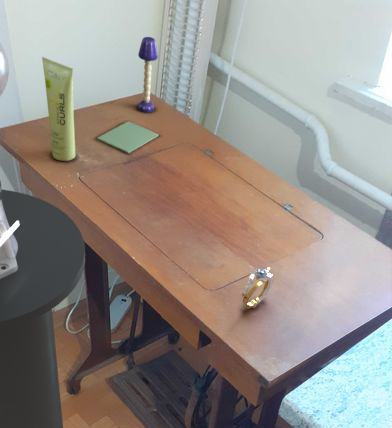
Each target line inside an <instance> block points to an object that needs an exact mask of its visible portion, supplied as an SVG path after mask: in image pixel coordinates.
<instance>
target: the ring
mask: <svg viewBox="0 0 392 428" xmlns="http://www.w3.org/2000/svg"><path fill="white" fill-rule="evenodd" d="M270 269H271V268H270V267H267V268H266V267H264V268H263V267H260V268H259V267H256V268H254V269H253V270H252V272H251V274H250V275H249V278H248V280H247V282H246V284H245V286H244V288H243V291H242V294H241V297H240V303H241V305H242V306H243V307H244V308H245V309H247V310H248V309H254V308H256V307H257V305H259V304H260V303H261V302H262V301H263V300H264V299H265V298H266V296H267V295H268V293H269V292H270V290H271V288H272V286H273V284H274V278H275V277H274V276H275V275H274V274H273V273H271V272H270ZM254 280H257V281H258V282H257V283H256V284H255V285H254V286H253V287H252V288H251V286H252V284H253V282H254ZM263 284H264V286H263V288H262V290H261V292H260V293H259V295H258V296H257V297H256V298H255V299H252V300H250V298H251V297H252V296H253V294H254V293H255V292H256V291H257V290H258V288H259V287H260V286H261V285H263ZM249 300H250V302H249Z"/></svg>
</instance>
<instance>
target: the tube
mask: <svg viewBox="0 0 392 428" xmlns="http://www.w3.org/2000/svg"><path fill="white" fill-rule="evenodd" d="M41 57H42V58H41V59H42V68H43V75H44V83H45V85H44V86H45V94H46V103H47V104H46V105H47V113H48V121H49V132H50V144H51V152H52V157H53V158H54V159H55V160H58V161H62V162H69V161H71V160H74V159H75V158H76V140H75V139H76V138H75V137H76V135H75V115H74V114H75V113H74V112H75V111H74V75H73V74H74V70H73V67H71V66H67V65H65V64H62V63H59V62H56V61H54V60H52V59H50V58H47V57H45V56H41Z"/></svg>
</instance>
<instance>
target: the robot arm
mask: <svg viewBox="0 0 392 428" xmlns="http://www.w3.org/2000/svg"><path fill="white" fill-rule="evenodd" d="M9 65H10V64H9V60H8V55H7V53H6V50H5V49H4V47H3V45H2V43H0V97H1V96H2V95H3V94H4V91H5V90H6V87H7V84H8V81H9V74H10V67H9ZM2 190H3V187H2V180H0V279H1V278H3V277H6V276H8V275H10V274H12V273H14V272H16V271H17V269H18V265H17V262H16V259H15V258H16V254H17V250H18V243H17V240H16V238H15V237H14V235H13V232H14V230H15V229H16V228H17V227H18V226H19V221H16V222H15V224H14V225H13V226H12V227H11V228H10V226H9V224H8V221H7V218H6V215H5V212H4V208H3V204H2V200H1V199H2V195H3V192H2Z"/></svg>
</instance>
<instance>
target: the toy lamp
mask: <svg viewBox="0 0 392 428" xmlns="http://www.w3.org/2000/svg"><path fill="white" fill-rule="evenodd" d="M157 47H158V46H157V43H156V39H155V38H154V37H151V36H144V37H143V38H142V40H141V43H140V46H139V50H138V53H137V54H138V58H139V59H141V60H142V61H144V67H143V68H144V72H143V76H144V77H143V91H142V94H143V96H142V100H141V101H139V102H138V105H137V109H138V110H139V111H140V112H142V113H147V114H148V113H153V112H154V111H155V105H154V103H153V102H152V101H151V97H150V96H151V88H152V87H151V85H152V84H151V83H152V78H151V77H152V69H153V68H152V67H153V66H152V63H153V61H157V60H158V58H159V53H158V48H157Z"/></svg>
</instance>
